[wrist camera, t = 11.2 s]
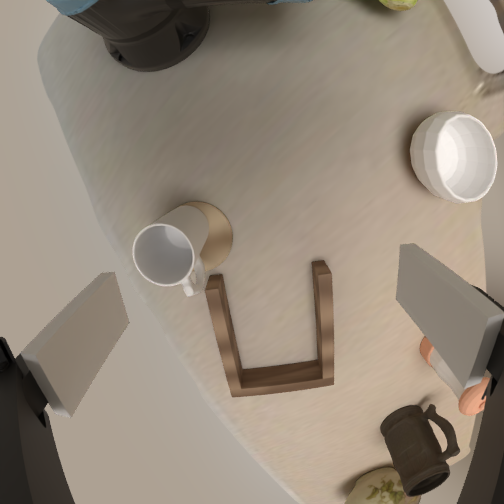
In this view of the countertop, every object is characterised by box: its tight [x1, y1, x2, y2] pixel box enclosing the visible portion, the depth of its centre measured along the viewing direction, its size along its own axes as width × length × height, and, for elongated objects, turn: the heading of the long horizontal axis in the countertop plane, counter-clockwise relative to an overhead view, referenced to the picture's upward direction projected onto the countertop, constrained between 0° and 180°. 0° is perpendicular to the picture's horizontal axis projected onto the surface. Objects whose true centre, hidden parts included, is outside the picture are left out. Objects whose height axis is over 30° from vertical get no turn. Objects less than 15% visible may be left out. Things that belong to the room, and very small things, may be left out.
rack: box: [205, 260, 334, 397], centre depth 45 cm, size 20×17×5 cm
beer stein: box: [381, 404, 460, 497], centre depth 46 cm, size 15×11×20 cm
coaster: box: [179, 202, 233, 271], centre depth 42 cm, size 10×10×1 cm
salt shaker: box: [420, 336, 490, 416], centre depth 39 cm, size 7×7×19 cm
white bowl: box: [410, 111, 497, 204], centre depth 34 cm, size 12×12×10 cm
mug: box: [132, 205, 209, 297], centre depth 36 cm, size 10×7×12 cm, turn 25°
